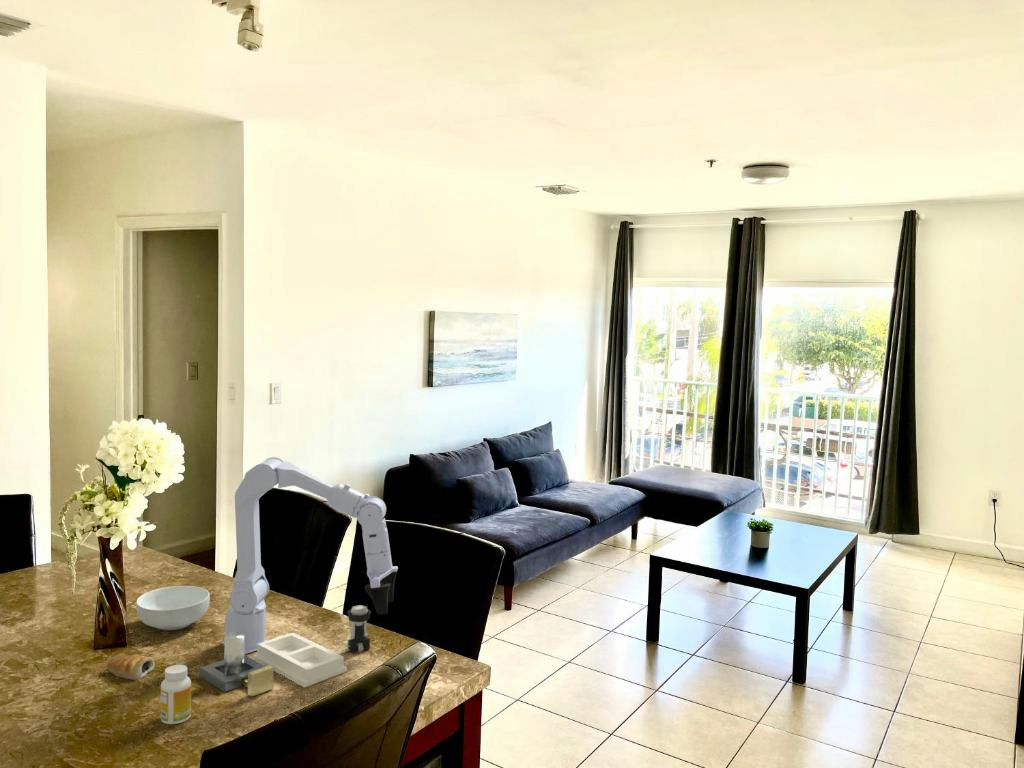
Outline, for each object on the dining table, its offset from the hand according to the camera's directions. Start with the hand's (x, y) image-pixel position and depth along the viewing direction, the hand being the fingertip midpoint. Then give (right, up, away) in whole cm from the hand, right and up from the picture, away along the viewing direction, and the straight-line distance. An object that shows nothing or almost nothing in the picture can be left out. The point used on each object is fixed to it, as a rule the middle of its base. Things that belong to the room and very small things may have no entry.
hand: (385, 607), depth 187 cm
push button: (-7, -10, +1) cm, 13 cm away
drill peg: (-30, -11, -15) cm, 35 cm away
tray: (-18, -11, -8) cm, 22 cm away
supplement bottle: (-35, -12, -33) cm, 50 cm away
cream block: (-25, -11, -19) cm, 33 cm away
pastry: (-52, -10, -15) cm, 55 cm away
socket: (-30, -11, -15) cm, 35 cm away
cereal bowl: (-54, -8, +12) cm, 56 cm away
